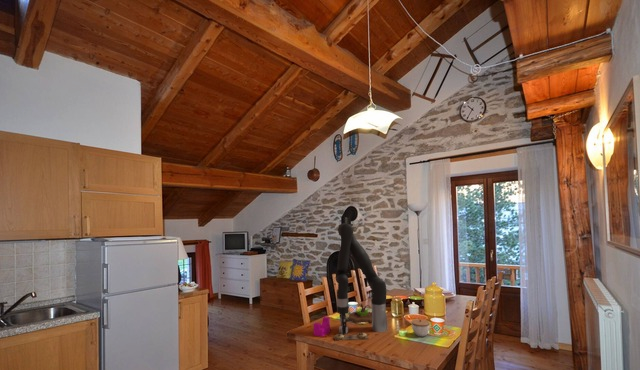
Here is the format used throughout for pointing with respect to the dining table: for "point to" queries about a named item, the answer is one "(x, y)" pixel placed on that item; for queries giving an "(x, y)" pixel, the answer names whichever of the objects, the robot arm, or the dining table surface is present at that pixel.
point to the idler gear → (341, 329)
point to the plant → (361, 315)
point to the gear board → (351, 337)
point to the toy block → (322, 327)
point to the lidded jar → (420, 327)
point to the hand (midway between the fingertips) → (343, 331)
